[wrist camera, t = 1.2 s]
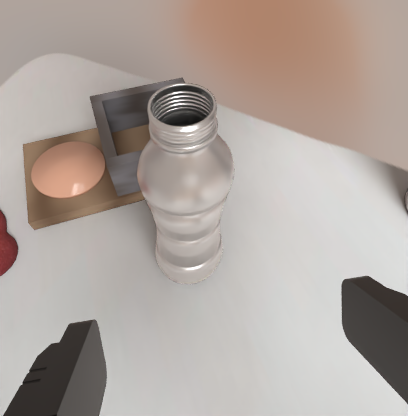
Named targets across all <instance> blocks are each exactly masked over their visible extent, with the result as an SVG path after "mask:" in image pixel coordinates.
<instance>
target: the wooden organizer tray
mask: <svg viewBox="0 0 408 416" xmlns="http://www.w3.org/2000/svg"><path fill="white" fill-rule="evenodd" d="M176 83H185V82H184V80H183V78H179V79H174V80H169V81H164V82H159V83H154V84H149V85H144V86H139V87H134V88H129V89H125V90H120V91H115V92H110V93H105V94H100V95H95V96H90V100H91V104H92V108H93V112H94V116H95V120H96V124H97V128H94V129H90V130H85V131H81V132H76V133H72V134H67V135H63V136H58V137H54V138H49V139H45V140H40V141H36V142H32V143H27V144H23V153H24V168H25V182H26V196H27V210H28V223H29V224H30V225H31V226H32V228H33V229H34V230H36V229H39V228H43V227H47V226H50V225H54V224H58V223H61V222H65V221H68V220H72V219H76V218H79V217H83V216H87V215H90V214H94V213H98V212H101V211H105V210H108V209H112V208H116V207H119V206H123V205H127V204H130V203H134V202H138V201H141V200H145V198H144V196H143V194H142V191H141V189H140V186H139V183H138V179H137V169H138V163H139V158H140V155H141V153H142V151H143V149H144V148H145V146H146V145H147V143H148V142H149V140H150V139H151V137H150V132H149V116H148V111H147V110H148V102H149V99H150V98H151V96H152V95H153V94H154V93H155V92H156V91H158V90H159V89H161V88H163V87H165V86H168V85H171V84H176ZM73 141H78V142H85V143H89V144H91V145H94V146H95V147H97V148H98V149H99V150H100V151H101V152H102V154H103V156H104V159H105V162H106V169H105V173H104V175H103V177H102V179H101V180H100V182H99V183H98V184H97V185H96V186H95V187H94V188H92V189H91V190H89V191H88V192H86V193H84V194H82V195H80V196H76V197H73V198H67V199H57V198H51V197H48V196H46V195H44V194H42V193H41V192H39V191H38V190H37V189H36V187H35V186H34V184H33V182H32V178H31V171H32V167H33V165H34V163H35V161H36V160H37V159H38V158H39V156H40V155H42V154H43V153H44V152H45V151H47V150H48V149H50V148H52V147H54V146H56V145H59V144H62V143H66V142H73Z"/></svg>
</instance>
